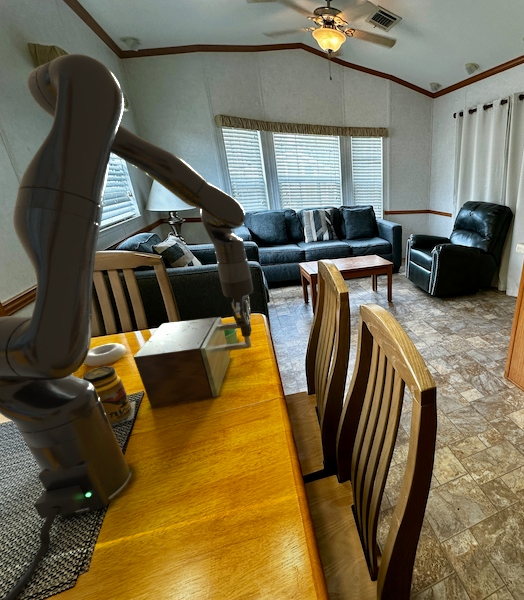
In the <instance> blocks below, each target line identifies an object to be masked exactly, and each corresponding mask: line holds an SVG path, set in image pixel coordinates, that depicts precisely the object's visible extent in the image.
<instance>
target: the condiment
mask: <svg viewBox="0 0 524 600" xmlns="http://www.w3.org/2000/svg"><path fill="white" fill-rule="evenodd" d="M82 379H84V380H86V381H89V382H90V383H92V384H93V386H94V387H95V389H96V391H97V394H98V396H99V398H100V401H101V403H102V405H103V408H104V410H105V413H106V415H107V417H108V420H109V422H110V424H111V427H113V426H116V425H119V424H122V423H125V422H127V421H128V422H129V421H132V420H133V419H134V416H135V412H136V411H135V410H136V401H137V400H135V401H130V399H129V396H128V394H127V391H126V389H125V386H124V384H123V380H122V378H121V376H119V375H118V373H117V372H116V368H114V367H113V366H108V365H104V366H98V367H96V368H94V369H91V370H89V371H88V372H86V373H85V374H83V377H82Z"/></svg>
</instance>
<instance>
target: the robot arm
mask: <svg viewBox="0 0 524 600" xmlns="http://www.w3.org/2000/svg"><path fill="white" fill-rule="evenodd" d="M26 80H27V81H26V83H27V89H28V92H29V93H30V96H31V97H32V98H33V100H34V102H35V103H36V104H37V105H38V106H39V107H40V108H41V109H42V110H43V111H44V112H45V113H46V114H47V115H49V116H50V117H51V118H53V122H52V125H51V128H50V130H49V132H48V134H47V135H46V137H45V138H44V140H43V141H42V144H41V145H40V146H39V148H38V149H37V150H36V152H35V153H34V155H33V156H32V159H31V160H30V162H29V163H28V165H27V167H26V168H25V170H24V172H23V175H22V177H21V179H20V182H19V186H18V189H17V193H16V199H15V204H14V210H13V219H12V220H13V221H12V223H13V229H14V231H15V235H16V237H17V239H18V241H19V243H20V245H21V247H22V248H23V250H24V253H25V254H26V256H27V257H28V259H29V262H30V264H31V265H32V268H33V270H34V273H35V278H36V279H35V280H36V293H35V299H34V306H33V310H32V314H31V315H10V316H9V315H7V316H0V415H2V416H3V417H4V418H6V419H8V420H10V421H12V423H14V424H15V426H16V428H17V430H18V431H19V433H20V434H21V436H22V439H23V440H24V442H25V443H26V446H27V448H28V449H29V451H30V453H31V454H32V456H33V458H34V460H35V462H36V464H37V466H38V467H39V469H40V470H41V471H40V472H39V473H38V474H37V478H38V479H39V481H40V483H41V485H42V487H43V488H44V490H43V492H42V494H40V496H39V497H38V498H37V499H36V501H35V502H34V504H33V507H34V508H35V510H36V512H37V513H38V515H39V517H40V519H42V520H44V519H45V521H44V523H43V525H42V528H41V530H40V533H39V542H40V546H39V548H38V550H37V553H36V555H35V557H34V559H33V560H32V563H31V564H30V566H29V568H27V570H26V572H25V573H24V574H23V575H22V577H21V578H20V579H19V581H18V582H17V583H16V584H15V586H14V587H13V588H11V590H10V591H9V592H8V594H6V596H5V597H4V598H3V599H2V600H14V599H15V598H16V597H17V596H18V595H19V594H20V592H21V591H22V589H24V587H25V586H26V585H27V583H28V582H29V580H30V579H31V578H32V576H33V575H34V573H35V572H36V571H35V570H36V569H37V567H38V566H39V564H40V563H41V561H42V560H43V558H44V556H45V554H46V553H47V552H48V551H49V550H48V549H49V547H50V545H51V536H50V533H51V530H52V526H53V524H54V522H55V520H56V518H57V517H58V516H59V517H61V519H63V518H68V517H71V516H75V515H81V514H85V513H89V512H94V511H97V510H102V509H105V508H107V507H108V505H109V503H110V502H111V501H112V500H114V499H115V498H116V497H117V496H119V495H120V494H121V493H122V492H123V491H124V490H125V489H126V488H127V487H128V486H129V483H130V482H131V480H132V476H133V472H132V469H131V467H130V466H129V464H128V461H127V459H126V457H125V454H124V453H123V450H122V448H121V445H120V443H119V441H118V438H117V436H116V434H115V432H114V429H113V426H112V424H110V422H109V420H108V417H107V415H106V413H105V410H104V408H103V405H102V403H101V401H100V398H99V396H98V394H97V391H96V389H95V387H94V386H93V384H92V383H90V382H89V381H86V380H84V379H83V378H81V377H78V376H75V375H73V374H75V373H76V372H78V371H79V369H80V368H81V367H82V366H83V365H84V361H85V360H86V358H87V355H88V352H89V350H90V348H91V341H92V324H93V323H92V322H93V321H92V320H93V319H92V318H93V316H92V315H93V313H92V311H93V309H92V308H93V306H92V305H93V282H94V271H95V263H96V262H95V261H96V253H97V248H98V247H97V246H98V240H99V236H100V231H101V225H102V217H103V211H104V199H105V192H106V187H107V181H108V176H109V175H108V174H109V167H110V159H111V154H113V155H115V156H116V157H118V158H120V159H121V160H123V161H125V162H126V163H128V164H130V165H131V166H133V167H135V168H136V169H138V170H139V171H141V172H142V173H144V174H145V175H147V176H148V177H150V178H151V179H153V180H154V181H156V182H157V183H158V184H159V185H161V186H162V187H164V189H166V190H167V191H169V192H170V193H171V194H173V195H174V196H175V197H177V198H178V199H179V200H180V201H182V202H183V203H185V204H187V205H188V206H190V207H194V208H197V209H200V219H201V222H202V225H203V227H204V229H205V231H206V233H207V236H208V238H209V239H210V241H211V243H212V245H213V248H214V253H215V258H216V262H217V271H218V276H219V281H220V285H221V286H220V287H221V291H222V294H223V296H224V297H226V298H230V299H232V302H231V308H232V310H233V311H232V313H231V315H232V317H233V319H234V321H235V322H236V324H237V326H240V328H239V329H240V332H241V337H243V338H244V337H247V336H249V337H250V336H251V334H252V331H253V330H252V325H251V315H252V312H251V303H250V300H251V299H250V296H249V295H251V294H253V292H254V285H253V279H252V274H251V273H252V272H251V269H250V265H249V261H248V257H247V252H246V247H245V243H244V241H243V239H242V238H240V237H238V236H236V234H234V232H233V230H235V229H239V228H241V227H242V226H243V225H244V223H245V221H246V212H245V210H244V208H243V206H242V205H241V204H240V203H239V201H237V200H236V199H235V198H234V197H232V196H231V195H229V194H228V193H226V192H224V191H223V190H221V189H220V188H218V187H217V186H215V185H213V184H211V183H210V182H209V181H207V180H206V179H205V178H204V176H202V175H201V174H200V173H199V172H198V171H197V170H196V169H194V168H193V166H191V165H190V164H189V163H187V162H186V161H185V160H184V159H182V158H180V157H179V156H177V155H176V154H174V153H173V152H171V151H168V150H166V149H164V148H162V147H160V146H159V145H156V144H154V143H153V142H150V141H149V140H146V139H144V138H142V137H141V136H139V135H137V134H136V133H134V132H133V131H131V130H129V129H128V128H127V127H125V126H124V125H122V124H121V123H120V122H121V119H122V116H123V113H124V108H125V102H124V101H125V99H124V93H123V90H122V87H121V85H120V83H119V81H118V79H117V78H116V75H114V74H113V72H112V71H111V70H110V69H109V67H107V66H106V65H105V64H104V63H103V62H101V61H100V60H98V59H96V58H94V57H92V56H89V55H86V54H81V53H70V54H63V55H60V56H58V57H55V58H54V59H51V60H50V61H47V62H46V63H43V64H41V65H39V66H37V67H35V68H34V69H33V70H31V71H30V72H29V74H28V76H27V79H26Z"/></svg>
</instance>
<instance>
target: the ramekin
mask: <svg viewBox="0 0 524 600" xmlns="http://www.w3.org/2000/svg"><path fill="white" fill-rule="evenodd" d="M237 331H238V328H237V329H229V330H224V333H225V338H226V342H227V344H235V343H238V333H237Z"/></svg>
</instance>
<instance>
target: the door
mask: <svg viewBox="0 0 524 600" xmlns="http://www.w3.org/2000/svg"><path fill="white" fill-rule="evenodd" d="M229 329H237V330H238V329H241V328H240V326H237V324H236V321H235V322H227V323H223V321H222V317H216V321H215V323H214V324H213V326H212V328H211V330H210V332H209V334H208V336H207V338H206V339H205V341H204V343H203V345H202V347H201V353H202V357H203V361H204V364H205V368H206V372H207V376H208V379H209V383H210V387H211V391H212V394H213V396H212V398H213V397H218V395H219V393H220V390H221V388H222V385H223V382H224V379H225V375H226V373H227V370H228V368H229V364H230V361H231V356H230V351H237V350H245V349H250V348H252V343H251V337H250V336H247V337H243V339H244V341H242V342H236V343H235V344H227V342H226V338H225V333H224V330H229Z"/></svg>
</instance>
